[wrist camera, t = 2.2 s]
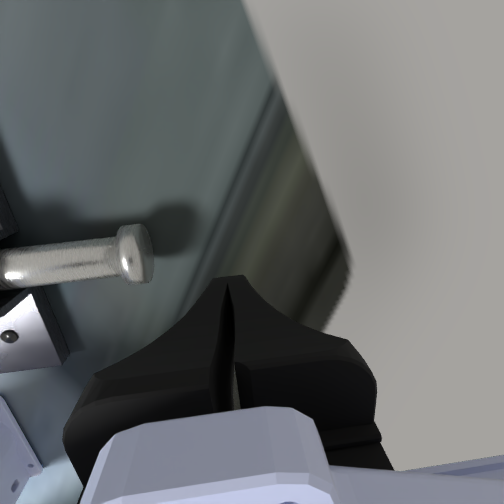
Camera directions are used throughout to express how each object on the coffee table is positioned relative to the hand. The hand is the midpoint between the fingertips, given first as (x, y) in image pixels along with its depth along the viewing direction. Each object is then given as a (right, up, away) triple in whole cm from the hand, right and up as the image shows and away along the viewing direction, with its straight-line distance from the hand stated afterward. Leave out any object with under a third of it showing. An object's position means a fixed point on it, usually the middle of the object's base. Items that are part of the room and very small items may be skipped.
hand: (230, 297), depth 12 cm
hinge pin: (-13, +2, +7) cm, 15 cm away
